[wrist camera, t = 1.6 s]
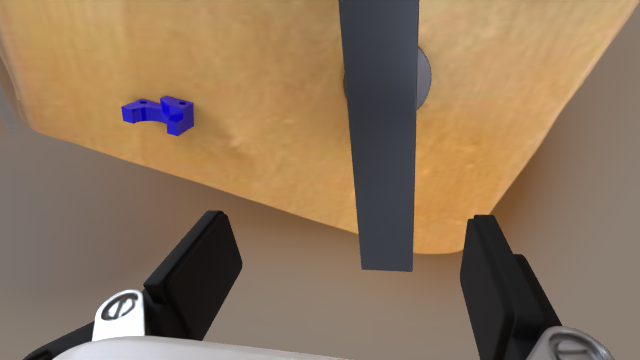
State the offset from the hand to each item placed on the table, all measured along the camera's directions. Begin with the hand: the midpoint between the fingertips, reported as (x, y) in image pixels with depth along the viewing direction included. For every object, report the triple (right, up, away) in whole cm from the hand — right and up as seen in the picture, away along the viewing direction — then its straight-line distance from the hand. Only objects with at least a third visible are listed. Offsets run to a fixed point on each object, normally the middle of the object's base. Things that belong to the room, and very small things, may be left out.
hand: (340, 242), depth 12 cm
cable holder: (-23, +13, +32) cm, 42 cm away
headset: (+6, +10, +18) cm, 21 cm away
